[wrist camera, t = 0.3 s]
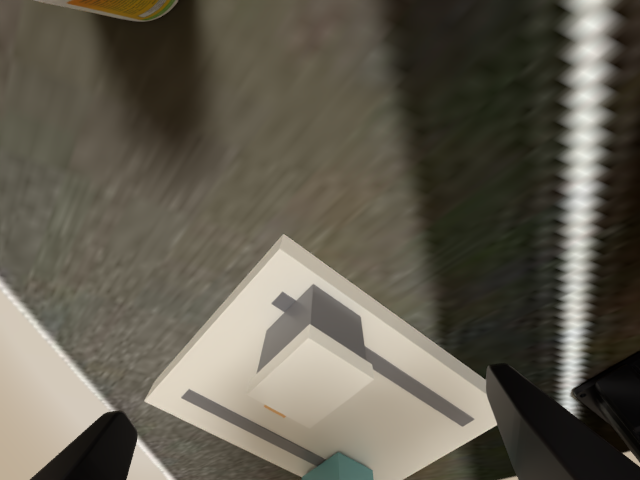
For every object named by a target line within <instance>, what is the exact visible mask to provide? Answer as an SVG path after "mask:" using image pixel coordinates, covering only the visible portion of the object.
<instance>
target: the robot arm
mask: <svg viewBox="0 0 640 480" xmlns="http://www.w3.org/2000/svg"><path fill="white" fill-rule="evenodd" d="M486 393H487V397H488V401H489V403H490V406H491V409H492V411H493V414H494V417H495V420H496V422H497V425H498V428H499V430H500V433H501V436H502V438H503V441H504V444H505V447H506V449H507V452H508V455H509V457H510V460H511V463H512V465H513V468H514V470H515V472H516V475H517V477H518V479H519V480H640V467H639V466H638V465H637V464H635V463H634V462H633V461H631V460H630V459H629V458H628V457H626V456H625V455H624V454H623V453H621V452H620V451H619V450H617V449H616V448H615V447H614V446H612V445H611V444H610V443H608V442H607V441H606V440H605V439H603V438H602V437H601V436H599V435H598V434H597V433H596V432H594V431H593V430H592V429H590V428H589V427H588V426H587V425H585V424H584V423H583V422H582V421H580V420H579V419H578V418H576V417H575V416H574V415H573V414H571V413H570V412H569V411H567V410H566V409H565V408H564V407H562V406H561V405H560V404H558V403H557V402H556V401H555V400H553V399H552V398H551V397H549V396H548V395H547V394H546V393H544V392H543V391H542V390H540V389H539V388H538V387H537V386H535V385H534V384H533V383H532V382H530V381H529V380H528V379H526V378H525V377H524V376H523V375H521V374H520V373H519V372H517V371H516V370H515V369H514V368H512V367H511V366H510V365H508V364H505V363H501V364H493V365H489V366H488V367H487V376H486ZM573 393H574V395H575V396H576V398H577V399H578V400H580V401H581V402H582V403H583V404H585V405H586V406H587V407H588V408H590V409H591V410H592V411H594V412H595V413H596V414H597V415H599V416H600V417H601V418H602V419H604V420H605V421H606V422H607V423H609V424H610V425H611V426H612V427H613V429H614V430H615V431H616V433H617V434H618V435H619V436H620V438H621V439H622V440H623V441H624V443H625V444H626V445H627V447H628V448H629V449H630V450H631V452H632V453H633V454H634V456H635V457H636V458H637V459H638V461H639V462H640V352H639V353H638V354H636V355H634V356H632V357H631V358H629V359H627V360H625V361H624V362H622V363H620V364H618V365H617V366H615V367H613V368H611V369H610V370H608V371H606V372H604V373H603V374H601V375H599V376H597V377H596V378H594V379H592V380H590V381H589V382H587V383H585V384H583V385H582V386H580V387H578V388H576V389H575V390H574V391H573ZM137 436H138V435H137V430H136V428H135V426H134V425H133V424H132V422H131V421H130V419H129V418H128V416H127V415H126V414H125V413H124V412H123V411H113V412H107V413H105V414H103V415H102V416H101V417H100V418H99V419H97V420H96V421H95V422H94V423H93V424H92V425H91V426H90V427H89V428H87V429H86V430H85V431H84V432H83V433H82V434H81V435H79V436H78V437H77V438H76V439H75V440H74V441H73V442H72V443H70V444H69V445H68V446H67V447H66V448H65V449H64V450H63V451H62V452H61V453H59V455H57V456H56V457H55V458H54V459H53V460H51V461H50V462H49V463H48V464H47V465H46V466H45V467H44V468H42V469H41V470H40V471H39V472H38V473H37V474H36V475H35V476H34V477H32V478H31V479H30V480H126V479H127V475H128V471H129V467H130V464H131V460H132V457H133V453H134V449H135V446H136V442H137Z"/></svg>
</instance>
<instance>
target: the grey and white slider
mask: <svg viewBox="0 0 640 480" xmlns="http://www.w3.org/2000/svg"><path fill="white" fill-rule="evenodd" d="M373 380H374V373H373V367H372V364H371V363H369V362H368V361H366V353H365V345H364V338H363V330H362V322H361V317H360V316H359V315H358V314H356V313H355V312H353V311H352V310H350V309H349V308H347V307H346V306H345V305H343V304H342V303H340V302H339V301H337V300H336V299H335V298H333V297H332V296H330V295H329V294H327V293H326V292H324V291H323V290H322V289H320V288H319V287H317V286H316V285H314V284H312V285H311V286H310V287H309V288H308V289H307V290H306V291H305V292H304V293H303V294H302V295H301V296H300V297H299V298H298V299H297V300H296V301H295V302H294V303H293V304H292V305H291V306H290V307H289V308H288V309H287V310H286V311H285V312H284V313H283V314H282V315H281V316H280V317H279V318H278V319H277V320H276V321H275V322H274V323H273V324H272V325H271V327H270V328H269V329H268V330H267V331H266V334H265V339H264V343H263V348H262V352H261V356H260V361H259V365H258V369H257V374H256V375H255V376H254V377H253V378H252V379H251V380H250V383H249V387H248V391H247V395H248V396H250V397H252V398H254V399H255V400H257V401H259V402H261V403H263V404H265V405H267V406H268V407H270V408H272V409H274V410H276V411H278V412H280V413H281V414H283V415H285V416H287V417H289V418H291V419H293V420H294V421H296V422H298V423H300V424H302V425H304V426H306V427H307V428H309V429H310V428H311V427H312V426H314V425H315V424H316V423H318V422H319V421H320V420H322V419H323V418H324V417H326V416H327V415H328V414H330V413H331V412H332V411H334V410H335V409H336V408H337V407H339V406H340V405H341V404H343V403H344V402H345V401H347V400H348V399H349V398H351V397H352V396H353V395H355V394H356V393H357V392H358V391H360V390H361V389H362V388H364V387H365V386H366V385H368V384H369V383H370V382H372V381H373Z"/></svg>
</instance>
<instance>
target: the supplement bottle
mask: <svg viewBox="0 0 640 480" xmlns="http://www.w3.org/2000/svg"><path fill="white" fill-rule="evenodd" d="M35 1H39V2H43V3H48V4H52V5H57V6H62V7H67V8H72V9H77V10H81V11H86V12H91V13H96V14H100V15H105V16H109V17H114V18H119V19H125V20H130V21H139V22H145V21H151V20H154V19H157V18H160V17H162V16H163V15H165V14H166V13H168V12H169V11H170V10H171V9H172V8H173V7H174V6H175V5H176V3H177V2H178V0H35Z"/></svg>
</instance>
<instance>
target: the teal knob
mask: <svg viewBox="0 0 640 480" xmlns="http://www.w3.org/2000/svg"><path fill="white" fill-rule="evenodd" d="M302 480H374V479H373V470H371V469H369V468H367V467H366V466H364V465H362V464H360V463H358V462H356V461H354V460H352V459H350V458H349V457H347V456H345V455H343V454H341V453H339V452H338V453H336V454H335V455H333V456H332V457H330V458H329V459H327V460H326V461H325V462H323V463H322V464H320V465H319V466H317V467H316V468H314V469H313V470H311V471H310V472H309V473H307V474H306V475H304V476H303V477H302Z"/></svg>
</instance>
